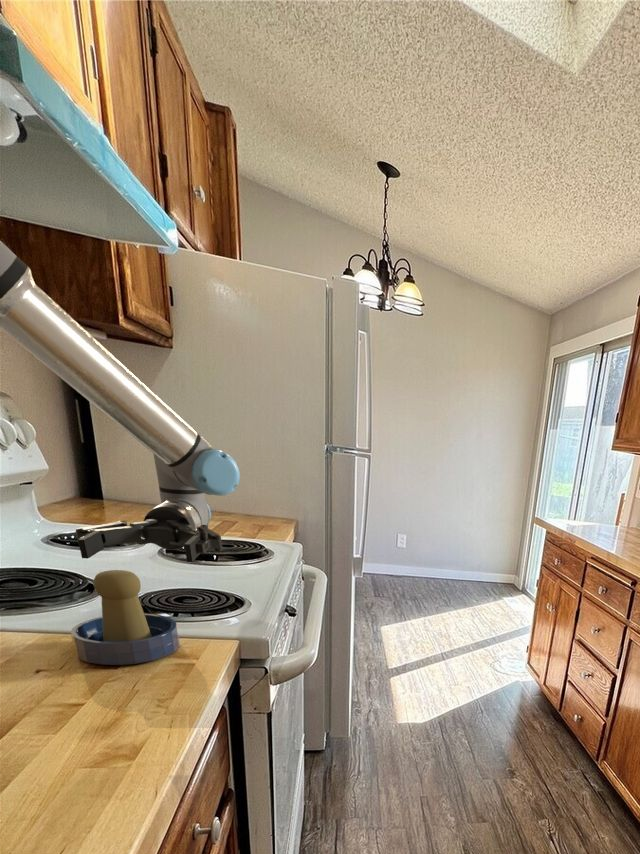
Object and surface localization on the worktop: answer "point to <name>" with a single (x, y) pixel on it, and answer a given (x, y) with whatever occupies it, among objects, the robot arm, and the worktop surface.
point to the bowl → (125, 642)
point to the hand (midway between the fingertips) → (136, 551)
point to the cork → (121, 606)
